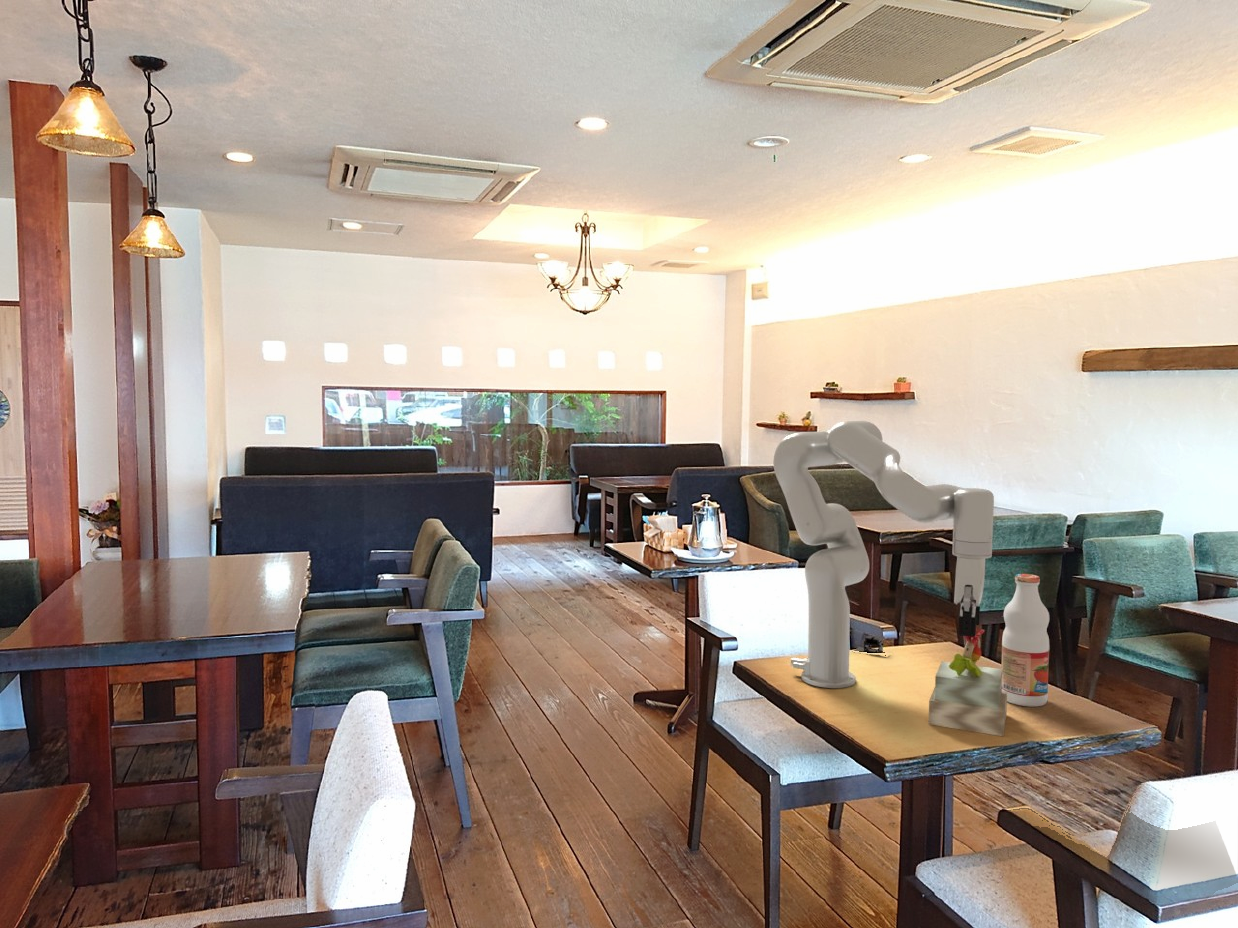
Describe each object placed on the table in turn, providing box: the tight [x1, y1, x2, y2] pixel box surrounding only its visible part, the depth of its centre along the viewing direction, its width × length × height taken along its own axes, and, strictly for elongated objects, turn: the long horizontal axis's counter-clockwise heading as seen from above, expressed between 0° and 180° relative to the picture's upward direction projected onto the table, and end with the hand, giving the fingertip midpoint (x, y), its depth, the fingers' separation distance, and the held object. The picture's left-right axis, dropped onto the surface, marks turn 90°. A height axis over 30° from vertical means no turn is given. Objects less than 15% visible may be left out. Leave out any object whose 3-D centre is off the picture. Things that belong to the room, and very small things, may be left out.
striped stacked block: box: [928, 661, 1008, 737], centre depth 175 cm, size 14×13×10 cm
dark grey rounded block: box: [853, 635, 886, 656], centre depth 223 cm, size 12×7×5 cm, turn 56°
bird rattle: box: [949, 626, 985, 677], centre depth 174 cm, size 6×11×9 cm
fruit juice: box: [1000, 573, 1050, 708], centre depth 186 cm, size 9×9×28 cm
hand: (969, 629), depth 174 cm, fingers open, 9 cm apart
